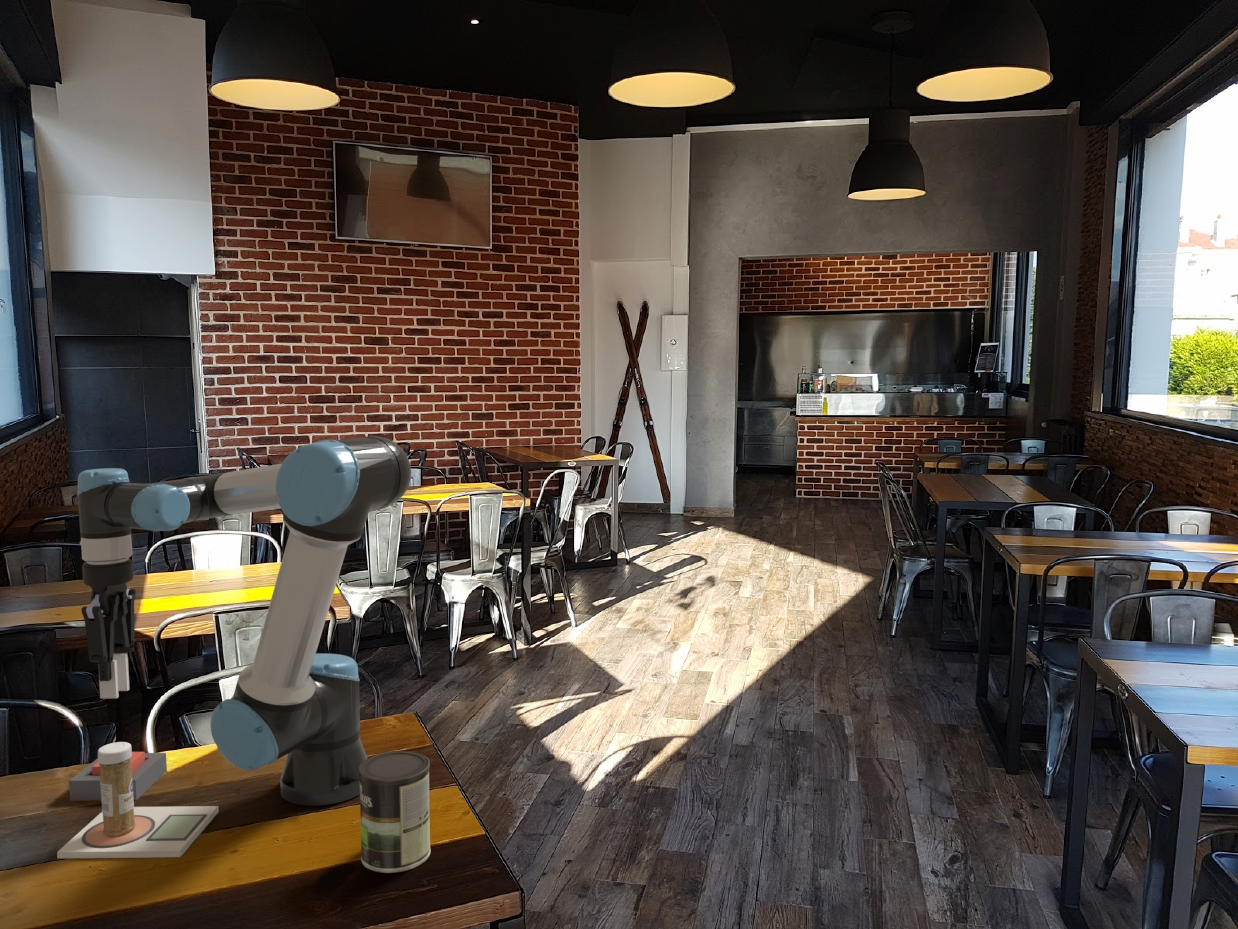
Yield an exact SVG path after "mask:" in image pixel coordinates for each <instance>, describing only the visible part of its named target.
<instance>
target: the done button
mask: <svg viewBox="0 0 1238 929" xmlns="http://www.w3.org/2000/svg"><path fill="white" fill-rule="evenodd" d="M145 753H146V752H145V751H132V756H131V772H133V771H135V770H136V769H137V768H138V767H139V766H140V765H141V764H143V763H144V762H145ZM92 775H100V765H99V762H97V763H96V764H95V765H93V766H92Z"/></svg>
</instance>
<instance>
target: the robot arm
mask: <svg viewBox="0 0 1238 929" xmlns="http://www.w3.org/2000/svg"><path fill="white" fill-rule="evenodd" d="M411 475H412V469H411V463H410V460H409V457H408V456H407V454H406V452H405V451H404V449H403V448H402V447H401V446H400V445H399V444H397V442H395V441H393V440H391V439H390V438H386V437H382V436H377V435H370V436H369V435H368V436H362V437H353V438H346V439H344V438H343V439H336V440H335V439H320V440H317V441H314V442H312V443H308V444H303V445H301V446H299V447H297V448H296V449H294V450H293V451H292V452H290V453H289V454H288V455H287V456H286V457H285V458H284V460H283V462H282V463H278V464H272V465H265V466H259V467H254V468H253V467H252V468H246V469H240V470H234V471H229V472H222V473H220V472H219V473H214V474H209V475H202V476H196V477H191V478H189V477H188V478H182V479H181V478H180V479H176V480H167V481H159V482H152V483H142V482H141V483H139V482H137V483H135V482H130V479H129V473H128V472H127V471H126V469H124V468H116V467H115V468H113V467H111V468H109V467H108V468H106V467H105V468H93V469H87V470H83V471H81V472H80V473H78V477H77V494H76V497H77V503H78V505H77V506H78V520H79V532H80V541H79V545H80V546H81V559H82V560H83V561H84V562H83V564H82V565H81V566H82V567H81V569H82V582H83V584H84V585H85V586H87V587H90V588H91V595H90V603H89V605H88V606H87V605H86V606H84V605H83V606H82V608H81V614H82V617H83V619H84V624H85V635H86V643H87V651H88V652H87V653H88V661H89V662H91V663H97V665H98V683H99V699H118V698H119V697H120V696H119V695H120V694H119V692H128V691H129V690H130V675H129V673H130V672H129V657H128V653H133V652H134V650H135V646H134V644H135V637H136V636H135V601H136V594H137V591H136V589H135V588H128V585H127V584H128V583H129V582H131V581H132V580H134V562H133V560H132V559H131V558H130V557H132V556H133V546H132V544H133V542H132V541H133V540H132V539H133V538H132V529H137V530H146V531H151V532H155V533H156V532H157V533H158V532H160V531H161V532H163V531H164V532H170V531H174V530H177V529H179V528H180V527H181V526H182V525H183V524H187V523H192V522H195V521H201V520H208V519H214V518H221V517H228V516H233V515H239V514H240V515H242V514H248V513H256V512H261V511H262V512H264V511H270V510H277V509H281V511H282V513H283V517H282V521H283V523H284V524H285V526H286V527H287V529H288V530H289V534H288V537H287V541H286V545H285V548H284V551H283V556H282V558H281V562H280V567H279V571H278V572H277V573H278V574H277V576H276V581H275V585H274V588H273V591H272V595H271V598H270V603H269V606H268V609H267V612H266V616H265V619H264V620H265V621H264V623H263V628H262V632H261V635H260V638H259V641H258V645H257V648H256V652H255V656H254V659H253V663H251V664H250V665H247V666H246V667H244V668H243V669H242V670H241V671H240V673H239V675H238V678H237V682H236V685H235V689H234V692H233V695H232V696H231V698H227V699H224V700H222V701H221V702H220V703H219V704H218V705H217V706H216V707H214V709H213V712H212V714H211V717H210V732H211V737H212V740H213V741H214V744H215V745H216V747H217V750H218V751H219V753H220V755H222V757H223V758H224V759H225V760H226V761H227V762H228V763H229V764H230V765H233V766H234V767H236V768H238V769H241V770H245V771H255V770H259V769H260V768H263V767H265V766H268V765H272V764H274V763H276V761H277V760H279V759H281V758H282V757H284V756H286V755H287V756H286V759H285V762H284V766H283V769H282V772H281V775H280V782H279V783H280V786H279V787H280V796H281V797H282V798H283V799H284V800H285V801H287V802H289V803H292V804H294V805H300V806H307V807H309V806H312V807H313V806H314V807H316V806H318V807H320V806H327V805H328V806H329V805H333V804H337V803H342V802H345V801H348V800H351V799H354V798H355V797H357V796H360V780H359V772H358V768H359V766H360V764H361V763H362V762H363V761H365V760H366V759H368V758H369V757H368V755H367V753H366V751H365V749H364V745H363V743H362V739H361V730H360V728H361V724H360V723H361V722H360V721H361V720H360V678H359V677H360V676H359V668H358V666H359V665H358V663H357V662H356V661H355V659H354V658H352V657H350V656H348V655H343V654H337V653H317V650H318V647H319V644H320V639H321V638H322V633H323V630H324V627H325V623H326V620H327V617H328V613H329V610H330V607H331V603H332V601H333V600H332V599H333V597H334V593H335V590H336V586H337V583H338V580H339V576H340V573H341V569H342V566H343V563H344V560H345V556H346V553H347V549H348V547H349V545H351V544H353V543H354V542H357V541H359V540H360V539H361V537H362V534H363V532H364V528H365V525H366V523H367V519H368V516H369V513H371V512H376V511H379V510H383V509H386V508H388V507H390V506H391V505H394V504H396V503H397V502H399V500H400V499H402V498H403V496H404V495H405V493H407V490H408V488H409V487H410V482H411V479H412V476H411Z"/></svg>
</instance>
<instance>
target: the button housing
mask: <svg viewBox="0 0 1238 929" xmlns="http://www.w3.org/2000/svg"><path fill="white" fill-rule="evenodd" d="M97 762H98V757H97V758H96V759H94V761H92V762H91V763H89V764H88V765H87V766H86V767H84V768H83V769H82V770H81V771H79V772H78V773H77V774H76V775H74V776H73V777H72V778H70V779H69V780H68V783H69V784H68V785H69V800H70V801H76V802H77V801H79V802H80V801H81V802H82V801H101V786H100V780H101V778H100V775H92V766H93V765H95V764H96V763H97ZM167 772H168V766H167V752H145V762H144V763H143V764H141V765H140V766H139V767H138V768H137V769H136V770H135V771H133V772H132V782H133V798H134V801H137V800H138V799H140V798H141V796H142V795H144V794H145V793H146V792H147V791H148V790H149V789H151V787H152V786H153V785H154V784H156V782H157V781H159V780H160V779H161V778H162V776H164V775H165V774H166V773H167Z"/></svg>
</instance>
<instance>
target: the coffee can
mask: <svg viewBox="0 0 1238 929" xmlns="http://www.w3.org/2000/svg"><path fill="white" fill-rule="evenodd" d="M367 758H368V759H366V760H365V761H363V762H362V763H361V764H360V766H359V768H358V772H359V780H360V795H359V808H360V810H359V813H360V846H361V847H360V850H361V851H360V852H361V855H360V861H361V863H362V865H363V866H364V867H365V868H366V869H367V870H370V871H372V872H376V873H382V874H383V873H384V874H394V873H395V874H397V873H402V872H406V871H409V870H412V869H415V868H417V867H418V866H421V865H422V864H423V863H425V862H426V861H428V859H429V857H430V855H431V852H432V851H431V850H432V849H431V828H430V826H431V825H430V823H431V820H430V817H431V816H430V767H431V762H430V759H429V757H427V756H426V755H424V754H422V753H420V752H416V751H411V750H410V751H409V750H408V751H407V750H394V751H387V752H385V751H384V752H382V753H378V754H375V755H372V756H371V757H367Z"/></svg>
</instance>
